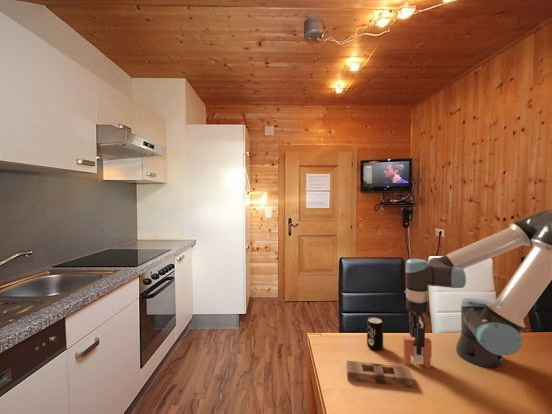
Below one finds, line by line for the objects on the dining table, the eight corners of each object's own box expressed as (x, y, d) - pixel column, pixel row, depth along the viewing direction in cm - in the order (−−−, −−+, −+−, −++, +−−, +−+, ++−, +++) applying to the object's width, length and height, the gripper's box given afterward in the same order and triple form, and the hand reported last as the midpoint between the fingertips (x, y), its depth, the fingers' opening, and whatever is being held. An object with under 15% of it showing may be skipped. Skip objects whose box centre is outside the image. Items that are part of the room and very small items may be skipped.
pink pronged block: (429, 363, 106) (429, 338, 106) (431, 367, 103) (431, 341, 103) (402, 361, 108) (402, 336, 108) (404, 364, 105) (404, 339, 105)
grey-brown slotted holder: (408, 374, 99) (408, 366, 99) (414, 387, 93) (413, 379, 92) (346, 368, 104) (346, 360, 104) (347, 380, 97) (347, 371, 97)
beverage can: (384, 352, 114) (384, 324, 114) (368, 350, 116) (368, 322, 116) (381, 344, 121) (381, 317, 121) (366, 342, 122) (366, 316, 122)
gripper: (401, 292, 114) (401, 347, 114) (412, 306, 98) (412, 370, 99) (420, 293, 112) (420, 349, 113) (434, 308, 97) (434, 372, 97)
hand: (416, 359), depth 106 cm, fingers closed on pink pronged block, 3 cm apart
